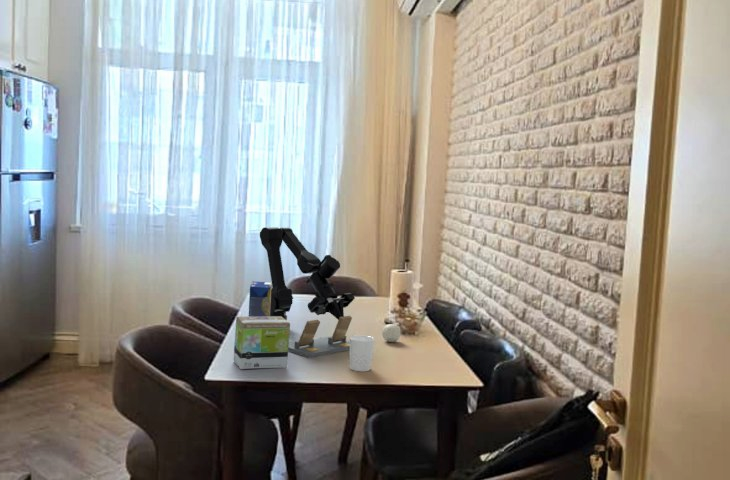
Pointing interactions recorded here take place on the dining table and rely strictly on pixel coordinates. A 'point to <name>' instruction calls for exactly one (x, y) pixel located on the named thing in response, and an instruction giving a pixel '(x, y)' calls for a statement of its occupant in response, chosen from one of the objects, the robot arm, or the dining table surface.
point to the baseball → (391, 333)
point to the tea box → (261, 342)
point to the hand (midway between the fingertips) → (342, 321)
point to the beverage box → (260, 299)
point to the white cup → (361, 352)
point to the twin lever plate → (319, 347)
